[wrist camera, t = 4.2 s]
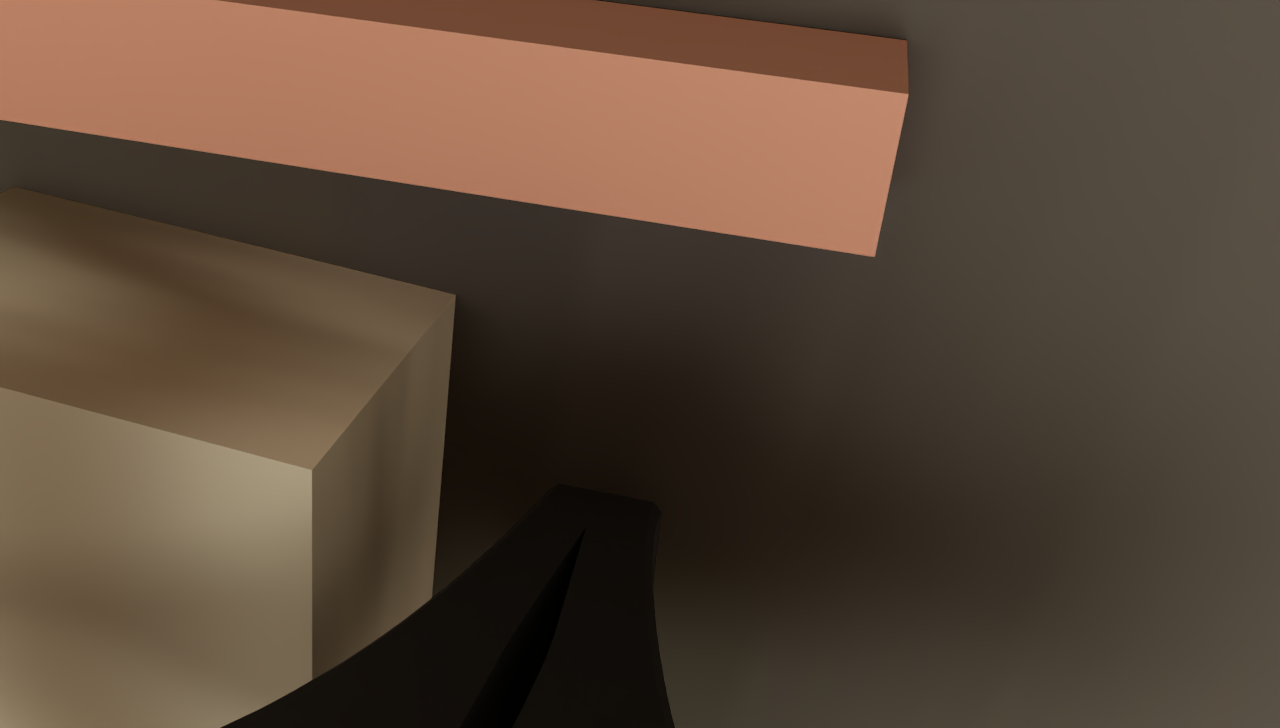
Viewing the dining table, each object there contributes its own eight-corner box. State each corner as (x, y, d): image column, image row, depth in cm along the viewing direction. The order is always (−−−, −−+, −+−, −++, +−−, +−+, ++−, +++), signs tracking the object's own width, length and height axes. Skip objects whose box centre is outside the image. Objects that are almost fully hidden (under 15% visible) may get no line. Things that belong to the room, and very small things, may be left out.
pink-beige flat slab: (-274, 617, 20) (-384, 697, 18) (-642, -161, 13) (-867, -147, 12) (740, 858, 17) (723, 978, 16) (906, 40, 11) (908, 94, 9)
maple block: (76, 530, 17) (-128, 724, 14) (25, 181, 14) (-256, 318, 11) (433, 631, 17) (312, 857, 13) (461, 288, 13) (311, 469, 10)
